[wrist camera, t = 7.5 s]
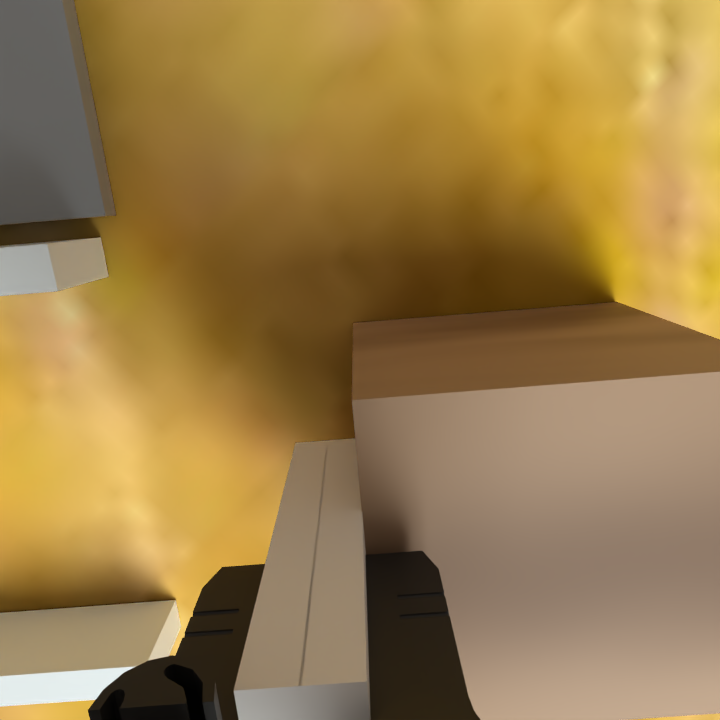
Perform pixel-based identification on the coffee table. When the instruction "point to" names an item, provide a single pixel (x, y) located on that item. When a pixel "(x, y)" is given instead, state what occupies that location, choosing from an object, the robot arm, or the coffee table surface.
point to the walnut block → (554, 500)
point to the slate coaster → (48, 118)
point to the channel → (78, 624)
